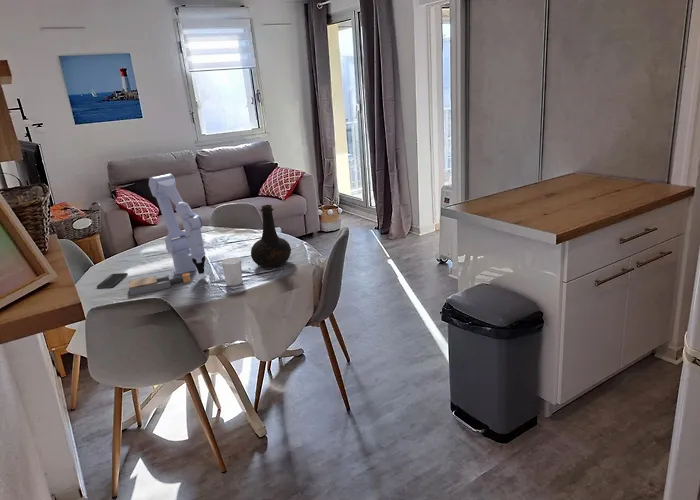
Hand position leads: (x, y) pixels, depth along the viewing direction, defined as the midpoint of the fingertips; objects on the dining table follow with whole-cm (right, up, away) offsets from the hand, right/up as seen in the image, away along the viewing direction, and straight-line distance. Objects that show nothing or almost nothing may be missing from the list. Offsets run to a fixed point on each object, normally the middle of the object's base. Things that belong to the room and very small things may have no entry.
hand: (201, 273), depth 222 cm
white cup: (+16, -4, -7) cm, 18 cm away
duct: (-20, -6, -7) cm, 22 cm away
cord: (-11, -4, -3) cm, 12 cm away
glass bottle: (+30, +3, +10) cm, 32 cm away
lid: (-22, -4, -8) cm, 24 cm away
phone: (-40, -4, +4) cm, 41 cm away
